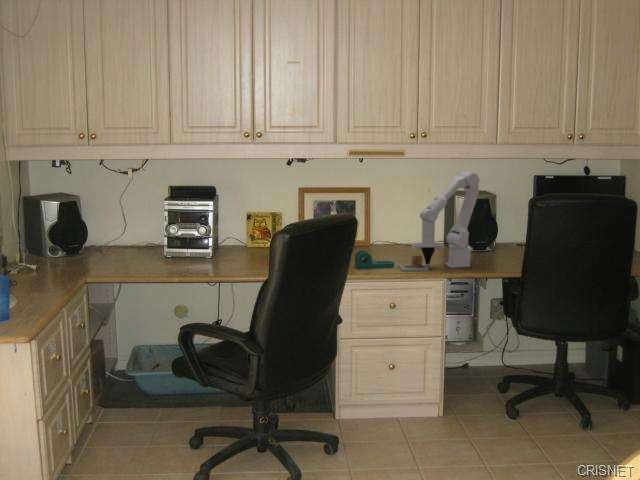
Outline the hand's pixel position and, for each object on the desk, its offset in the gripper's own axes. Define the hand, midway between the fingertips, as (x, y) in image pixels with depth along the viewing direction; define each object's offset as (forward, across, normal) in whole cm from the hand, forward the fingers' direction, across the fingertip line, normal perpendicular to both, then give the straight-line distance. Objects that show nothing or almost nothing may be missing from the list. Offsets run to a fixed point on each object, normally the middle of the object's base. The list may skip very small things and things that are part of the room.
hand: (427, 263), depth 318 cm
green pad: (+2, 0, -8) cm, 8 cm away
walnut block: (+2, +5, 0) cm, 6 cm away
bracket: (+3, +23, -7) cm, 24 cm away
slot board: (+2, +6, 0) cm, 7 cm away
